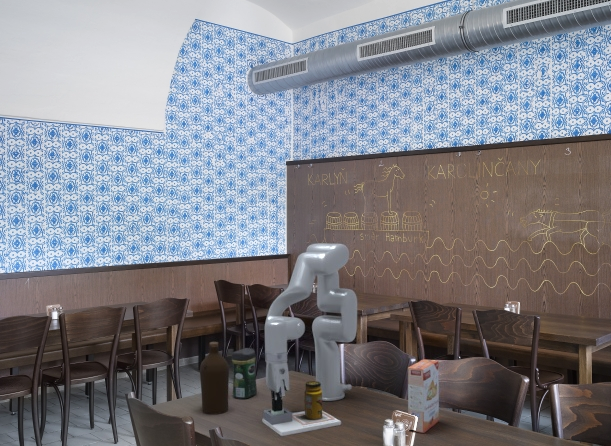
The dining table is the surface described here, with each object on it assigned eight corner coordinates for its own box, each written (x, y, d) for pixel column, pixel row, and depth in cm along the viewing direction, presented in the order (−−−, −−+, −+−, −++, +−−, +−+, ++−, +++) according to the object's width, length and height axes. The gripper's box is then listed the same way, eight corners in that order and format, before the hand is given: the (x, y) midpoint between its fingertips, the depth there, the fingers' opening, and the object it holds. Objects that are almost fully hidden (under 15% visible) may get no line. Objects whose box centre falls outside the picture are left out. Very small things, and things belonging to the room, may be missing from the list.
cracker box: (425, 434, 200) (424, 369, 200) (407, 431, 204) (406, 367, 203) (440, 421, 212) (439, 360, 212) (423, 418, 216) (422, 358, 215)
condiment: (327, 418, 214) (326, 383, 214) (306, 423, 209) (305, 387, 209) (316, 413, 220) (315, 378, 220) (295, 417, 216) (294, 382, 215)
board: (319, 411, 226) (318, 400, 226) (340, 424, 211) (340, 412, 211) (262, 422, 216) (262, 410, 216) (281, 436, 201) (281, 423, 201)
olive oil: (227, 414, 225) (226, 345, 224) (198, 415, 225) (196, 345, 225) (231, 405, 235) (230, 339, 235) (203, 406, 235) (201, 340, 235)
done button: (280, 416, 217) (280, 407, 217) (286, 419, 213) (286, 411, 213) (269, 418, 215) (269, 409, 215) (274, 421, 211) (274, 413, 211)
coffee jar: (243, 391, 254) (242, 346, 254) (259, 393, 250) (258, 347, 250) (229, 397, 246) (228, 350, 246) (246, 400, 242) (244, 352, 242)
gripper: (295, 359, 209) (296, 414, 209) (277, 351, 222) (278, 403, 222) (274, 362, 205) (276, 418, 205) (257, 354, 219) (258, 406, 219)
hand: (277, 410), depth 214 cm, fingers closed
